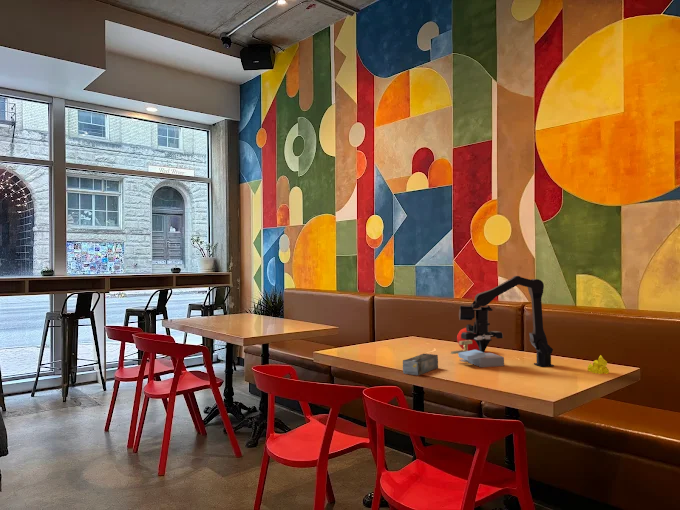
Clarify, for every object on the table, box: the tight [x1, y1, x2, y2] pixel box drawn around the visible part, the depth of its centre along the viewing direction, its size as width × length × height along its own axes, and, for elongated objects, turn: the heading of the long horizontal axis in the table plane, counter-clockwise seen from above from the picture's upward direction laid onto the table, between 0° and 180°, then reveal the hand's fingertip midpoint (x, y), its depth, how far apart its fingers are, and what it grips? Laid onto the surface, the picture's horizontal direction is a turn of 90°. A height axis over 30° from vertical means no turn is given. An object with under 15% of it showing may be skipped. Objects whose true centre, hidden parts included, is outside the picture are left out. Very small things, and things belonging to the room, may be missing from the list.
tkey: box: [450, 340, 472, 360], centre depth 249 cm, size 13×2×9 cm, turn 121°
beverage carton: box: [402, 353, 439, 376], centre depth 229 cm, size 8×19×7 cm, turn 142°
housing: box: [459, 352, 505, 368], centre depth 245 cm, size 18×13×4 cm
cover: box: [457, 350, 486, 361], centre depth 239 cm, size 9×9×2 cm
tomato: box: [456, 327, 480, 351], centre depth 275 cm, size 16×14×14 cm
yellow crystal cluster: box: [587, 354, 610, 375], centre depth 223 cm, size 6×8×8 cm
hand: (482, 353), depth 241 cm, fingers closed
